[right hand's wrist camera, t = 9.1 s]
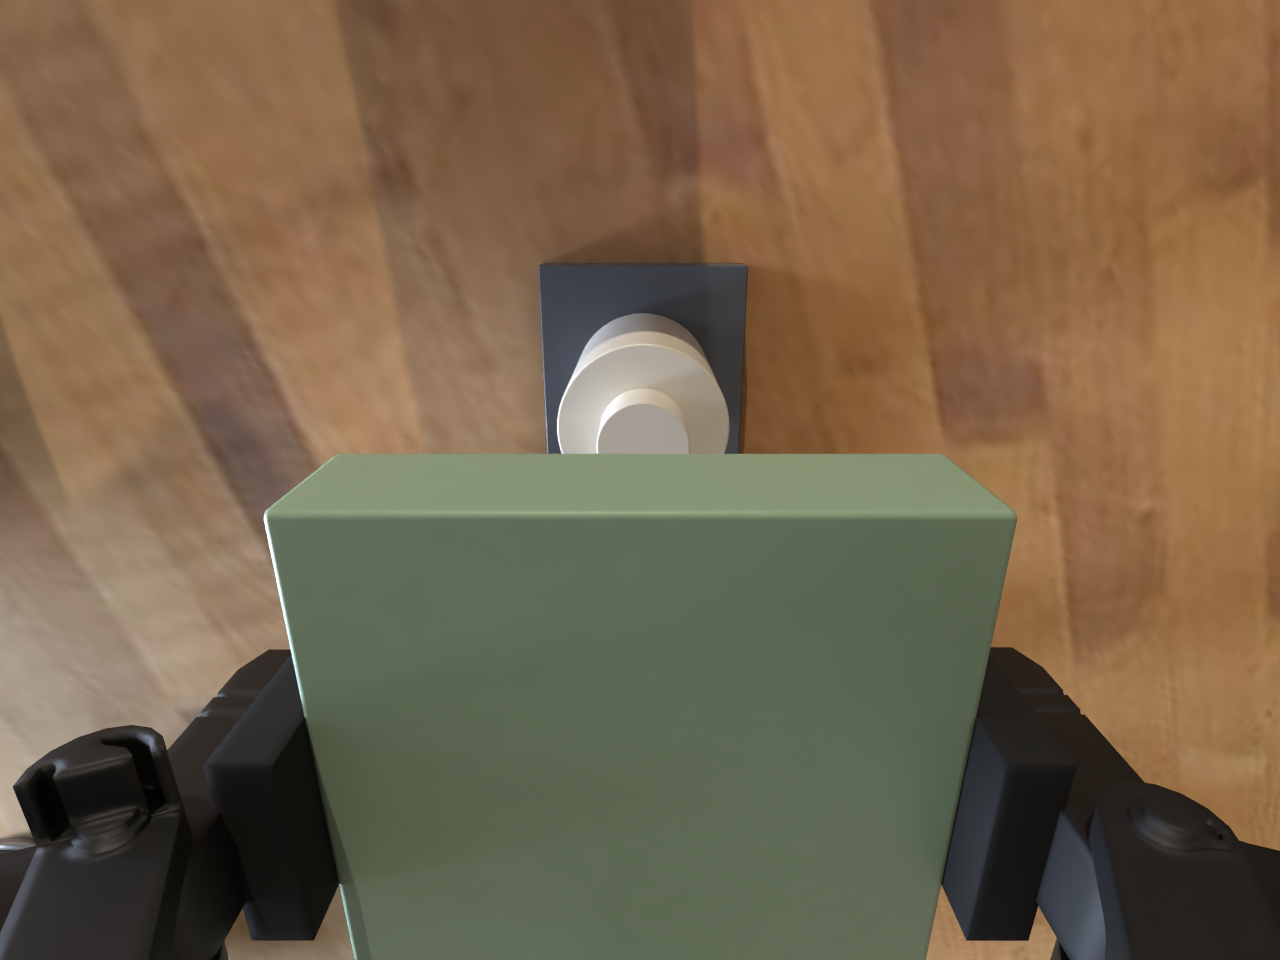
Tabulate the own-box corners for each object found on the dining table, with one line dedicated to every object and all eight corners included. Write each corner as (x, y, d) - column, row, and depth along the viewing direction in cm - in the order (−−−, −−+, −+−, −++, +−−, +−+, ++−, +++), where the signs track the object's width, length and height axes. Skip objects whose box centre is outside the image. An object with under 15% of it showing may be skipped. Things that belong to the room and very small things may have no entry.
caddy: (564, 732, 41) (536, 918, 30) (542, 263, 32) (491, 286, 21) (720, 733, 41) (748, 919, 30) (743, 263, 32) (795, 287, 21)
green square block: (435, 811, 14) (364, 1019, 10) (382, 414, 11) (257, 512, 7) (844, 811, 14) (915, 1019, 10) (898, 414, 11) (1023, 511, 7)
